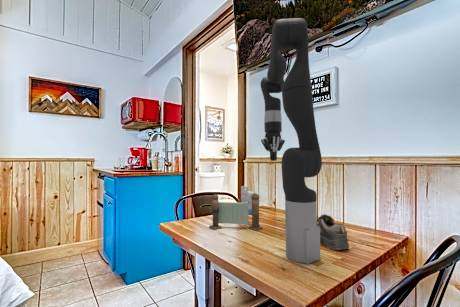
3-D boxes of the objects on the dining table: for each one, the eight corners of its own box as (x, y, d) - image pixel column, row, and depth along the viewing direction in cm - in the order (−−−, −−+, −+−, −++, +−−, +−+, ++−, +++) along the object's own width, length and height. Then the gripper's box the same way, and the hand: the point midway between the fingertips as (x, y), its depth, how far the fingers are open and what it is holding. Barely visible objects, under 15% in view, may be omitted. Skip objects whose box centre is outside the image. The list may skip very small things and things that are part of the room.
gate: (248, 224, 110) (248, 201, 110) (247, 225, 108) (247, 202, 108) (215, 223, 113) (215, 200, 113) (214, 224, 111) (214, 201, 112)
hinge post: (262, 228, 108) (261, 193, 108) (255, 230, 105) (254, 194, 106) (256, 226, 111) (255, 192, 111) (249, 228, 109) (248, 193, 109)
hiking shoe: (320, 226, 103) (309, 202, 100) (361, 249, 83) (348, 220, 81) (302, 239, 101) (290, 215, 98) (340, 266, 81) (327, 236, 78)
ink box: (256, 214, 136) (256, 186, 137) (248, 215, 134) (248, 187, 135) (248, 211, 144) (248, 185, 144) (241, 212, 142) (240, 185, 142)
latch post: (221, 228, 109) (221, 194, 109) (213, 229, 107) (213, 195, 107) (216, 226, 112) (216, 193, 113) (209, 227, 110) (208, 194, 110)
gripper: (277, 123, 119) (277, 160, 119) (256, 121, 112) (256, 160, 112) (289, 121, 113) (290, 160, 113) (267, 119, 106) (268, 160, 105)
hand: (273, 160), depth 112 cm, fingers closed
